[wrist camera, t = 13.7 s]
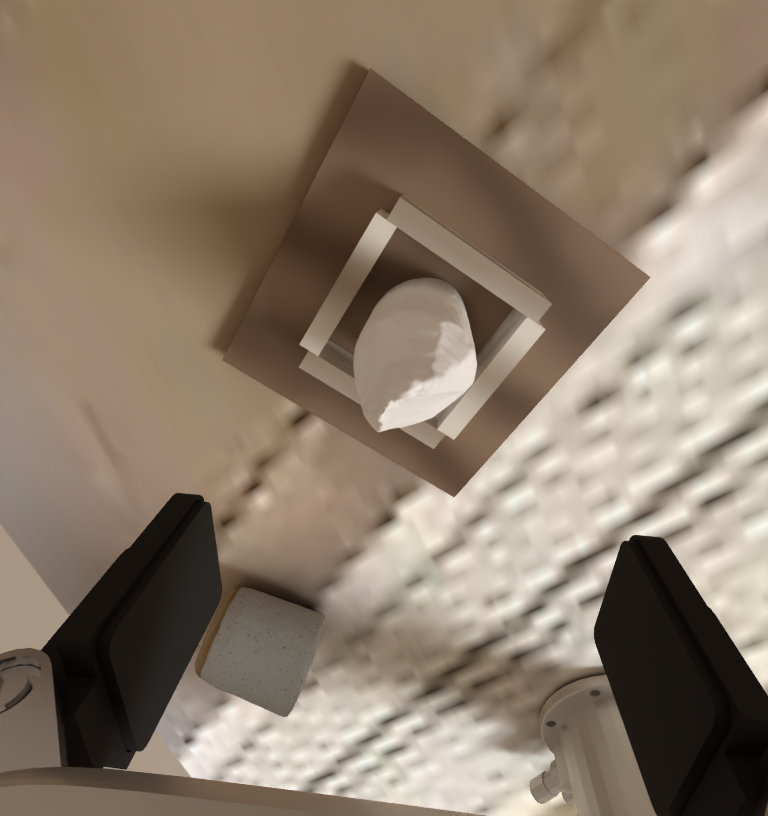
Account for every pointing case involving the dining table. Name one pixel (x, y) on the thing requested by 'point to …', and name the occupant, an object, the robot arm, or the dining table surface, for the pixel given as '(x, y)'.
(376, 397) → the roll
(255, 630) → the ceramic mug
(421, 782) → the dining table surface
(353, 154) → the stand
